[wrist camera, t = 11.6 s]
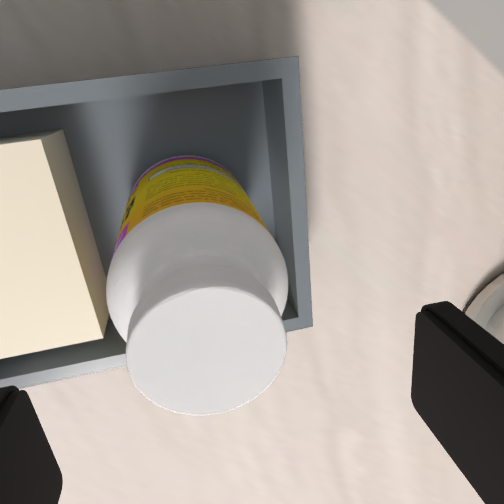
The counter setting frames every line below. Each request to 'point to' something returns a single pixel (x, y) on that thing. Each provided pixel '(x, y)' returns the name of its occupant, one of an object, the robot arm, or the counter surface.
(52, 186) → the cream rectangular box
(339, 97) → the counter surface
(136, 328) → the supplement bottle
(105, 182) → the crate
